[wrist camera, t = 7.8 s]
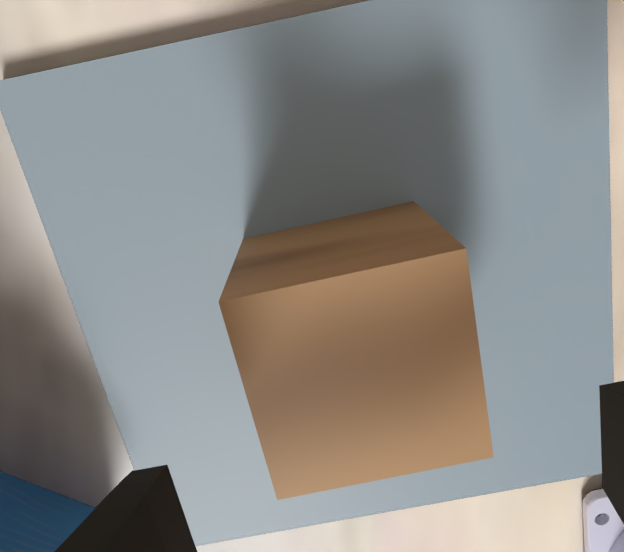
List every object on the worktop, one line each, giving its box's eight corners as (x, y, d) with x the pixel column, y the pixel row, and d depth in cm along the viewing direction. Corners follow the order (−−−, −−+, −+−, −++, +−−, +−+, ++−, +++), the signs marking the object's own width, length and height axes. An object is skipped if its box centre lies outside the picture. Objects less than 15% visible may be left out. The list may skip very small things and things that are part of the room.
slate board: (605, 460, 19) (615, 471, 18) (168, 538, 19) (164, 551, 19) (592, -45, 14) (605, -52, 13) (2, 83, 14) (-10, 82, 14)
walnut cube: (438, 355, 17) (493, 457, 12) (283, 387, 17) (277, 500, 12) (413, 201, 15) (466, 248, 10) (242, 238, 15) (218, 302, 11)
